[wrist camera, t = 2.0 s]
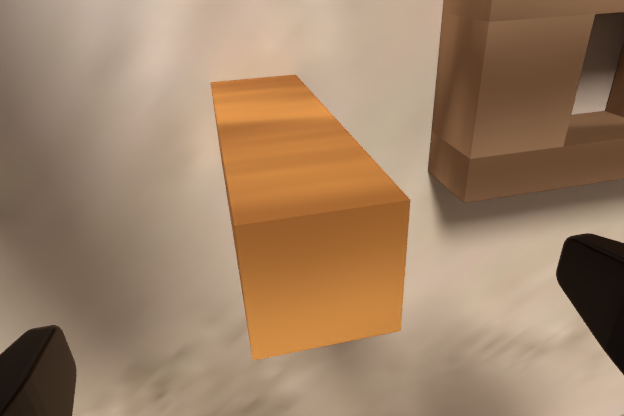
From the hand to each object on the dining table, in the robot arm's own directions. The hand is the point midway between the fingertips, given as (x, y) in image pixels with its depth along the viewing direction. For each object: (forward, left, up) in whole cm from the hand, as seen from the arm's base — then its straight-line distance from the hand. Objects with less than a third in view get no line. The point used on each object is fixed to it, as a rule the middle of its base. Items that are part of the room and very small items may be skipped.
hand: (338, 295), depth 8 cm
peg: (0, 0, -10) cm, 10 cm away
